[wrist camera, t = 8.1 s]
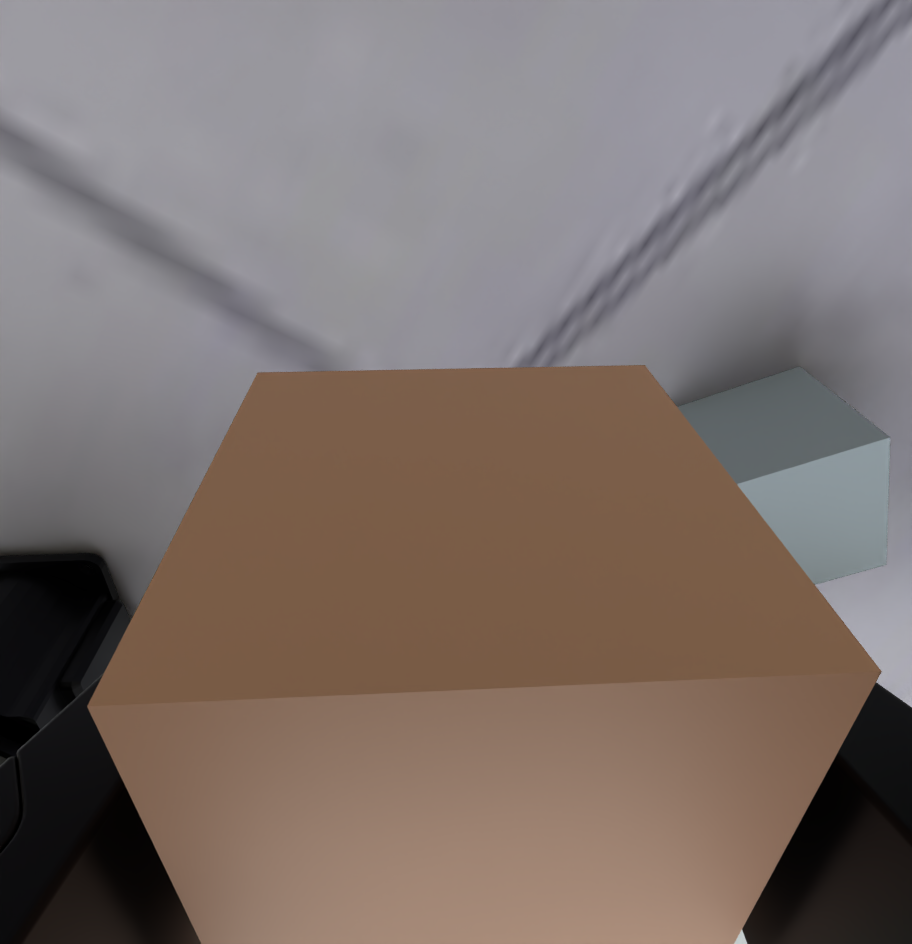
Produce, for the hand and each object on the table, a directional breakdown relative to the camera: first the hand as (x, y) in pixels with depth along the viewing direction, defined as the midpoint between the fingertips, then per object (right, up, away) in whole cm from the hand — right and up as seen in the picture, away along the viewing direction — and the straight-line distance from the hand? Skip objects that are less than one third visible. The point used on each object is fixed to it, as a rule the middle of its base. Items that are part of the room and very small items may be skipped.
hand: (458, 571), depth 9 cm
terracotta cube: (0, +1, +1) cm, 1 cm away
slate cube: (+10, +2, +15) cm, 18 cm away
